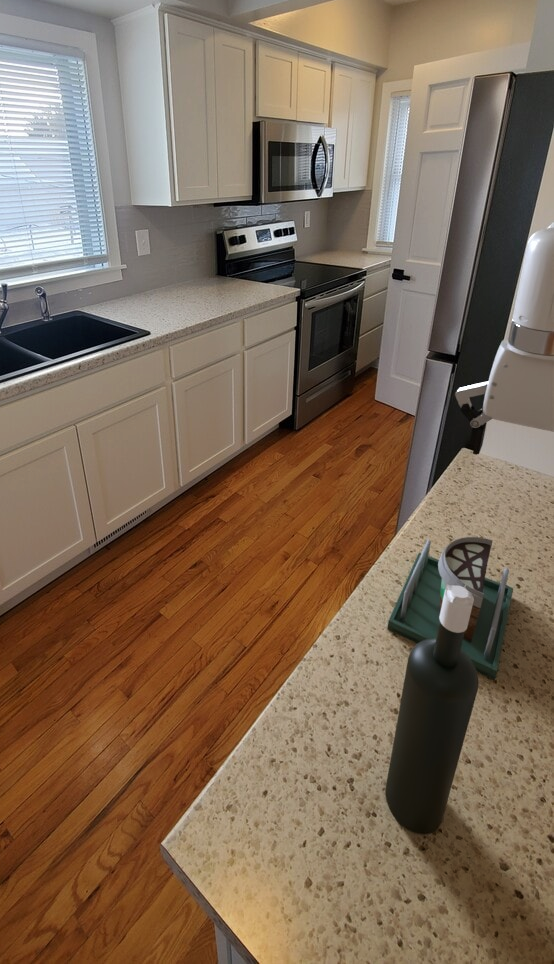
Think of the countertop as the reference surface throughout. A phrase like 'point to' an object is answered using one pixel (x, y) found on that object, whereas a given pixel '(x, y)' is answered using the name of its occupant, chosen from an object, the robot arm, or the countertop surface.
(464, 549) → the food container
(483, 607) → the drying rack
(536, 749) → the countertop surface
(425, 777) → the wine bottle
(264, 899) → the countertop surface
